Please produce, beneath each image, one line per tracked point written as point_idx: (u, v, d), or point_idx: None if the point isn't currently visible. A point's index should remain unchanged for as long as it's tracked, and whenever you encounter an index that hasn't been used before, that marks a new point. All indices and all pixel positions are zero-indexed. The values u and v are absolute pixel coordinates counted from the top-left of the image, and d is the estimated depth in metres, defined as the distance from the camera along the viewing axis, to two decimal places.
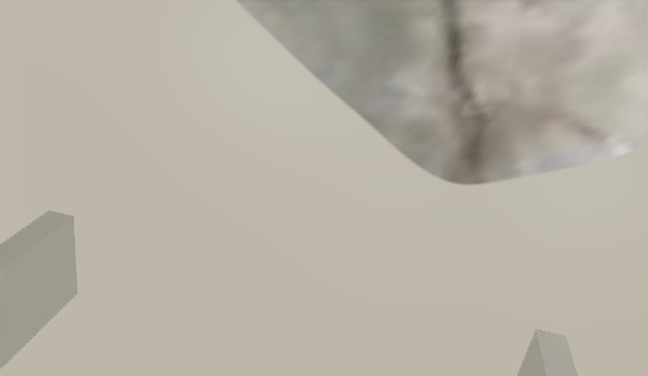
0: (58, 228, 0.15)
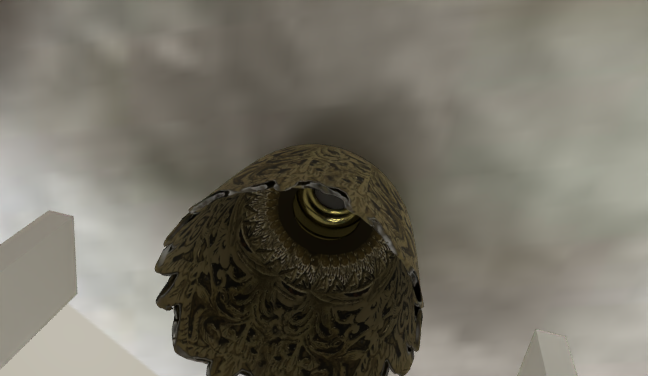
0: (58, 228, 0.15)
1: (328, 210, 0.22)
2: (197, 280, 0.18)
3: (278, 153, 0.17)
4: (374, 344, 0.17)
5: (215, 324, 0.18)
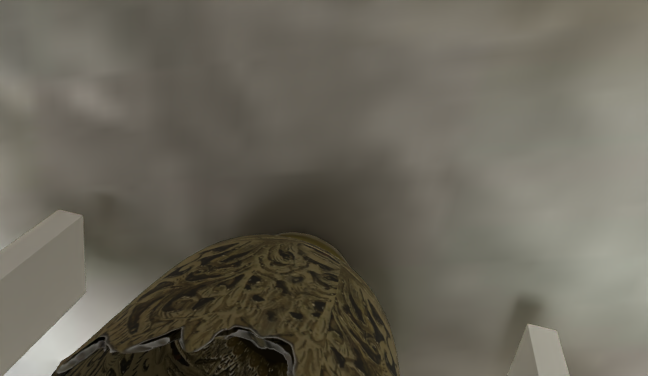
0: (68, 227, 0.15)
1: None
2: None
3: (209, 256, 0.12)
4: None
5: None
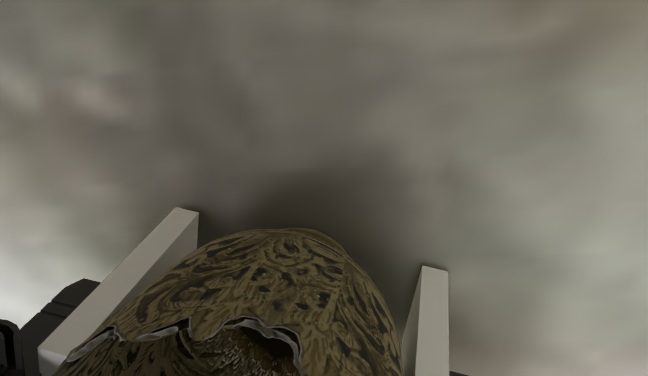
0: (189, 223, 0.16)
1: None
2: None
3: (215, 249, 0.12)
4: None
5: None
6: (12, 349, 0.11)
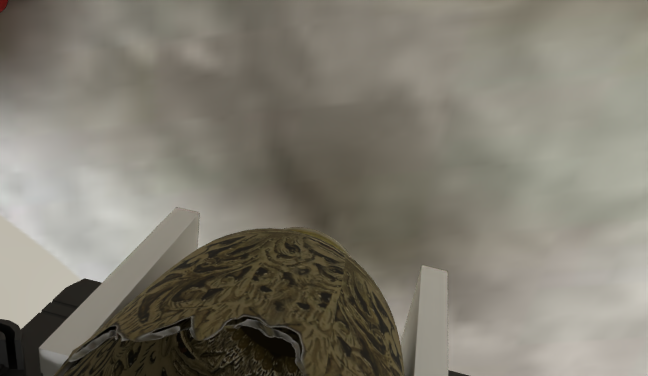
0: (190, 223, 0.16)
1: None
2: None
3: (216, 249, 0.12)
4: None
5: None
6: (13, 349, 0.11)
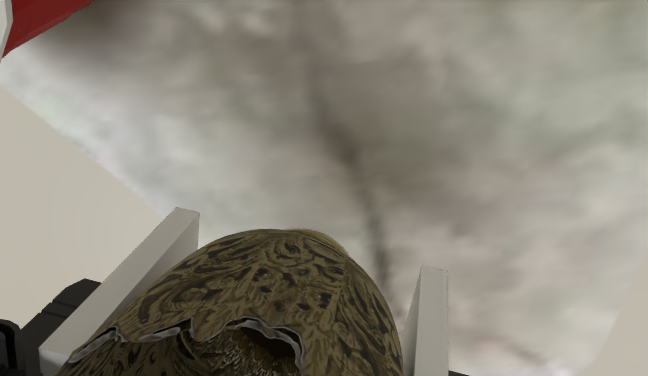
0: (190, 223, 0.16)
1: None
2: None
3: (216, 250, 0.12)
4: None
5: None
6: (13, 349, 0.11)
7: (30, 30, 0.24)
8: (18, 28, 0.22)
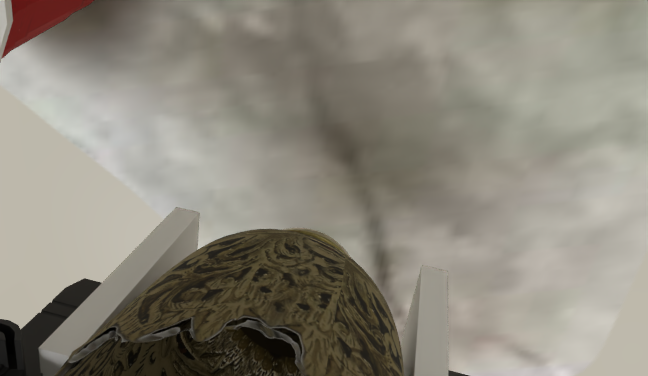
0: (190, 223, 0.16)
1: None
2: None
3: (216, 250, 0.12)
4: None
5: None
6: (13, 348, 0.11)
7: (30, 30, 0.24)
8: (18, 28, 0.22)
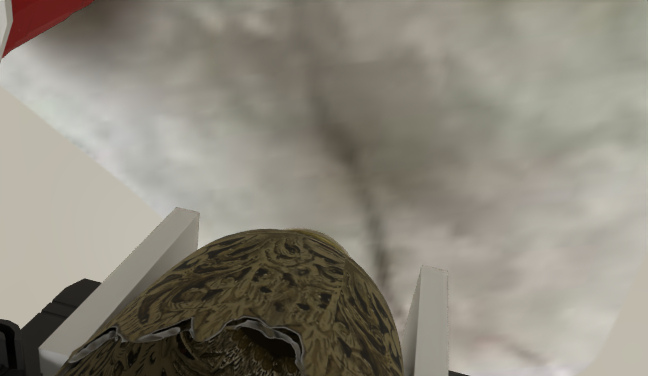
0: (190, 223, 0.16)
1: None
2: None
3: (216, 250, 0.12)
4: None
5: None
6: (13, 348, 0.11)
7: (30, 30, 0.24)
8: (18, 28, 0.22)
